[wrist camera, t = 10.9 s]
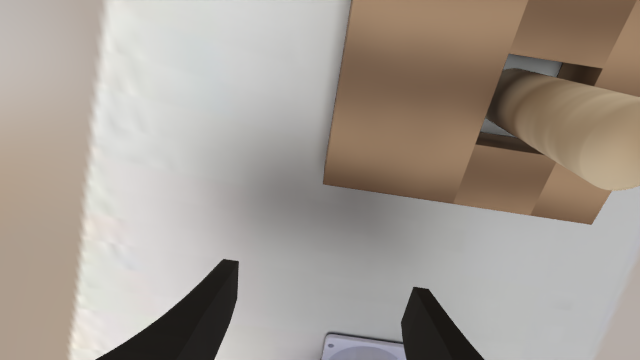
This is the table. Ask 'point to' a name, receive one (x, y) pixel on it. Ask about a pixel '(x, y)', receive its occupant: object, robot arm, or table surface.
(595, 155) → the beech peg
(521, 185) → the walnut socket board
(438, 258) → the table surface
